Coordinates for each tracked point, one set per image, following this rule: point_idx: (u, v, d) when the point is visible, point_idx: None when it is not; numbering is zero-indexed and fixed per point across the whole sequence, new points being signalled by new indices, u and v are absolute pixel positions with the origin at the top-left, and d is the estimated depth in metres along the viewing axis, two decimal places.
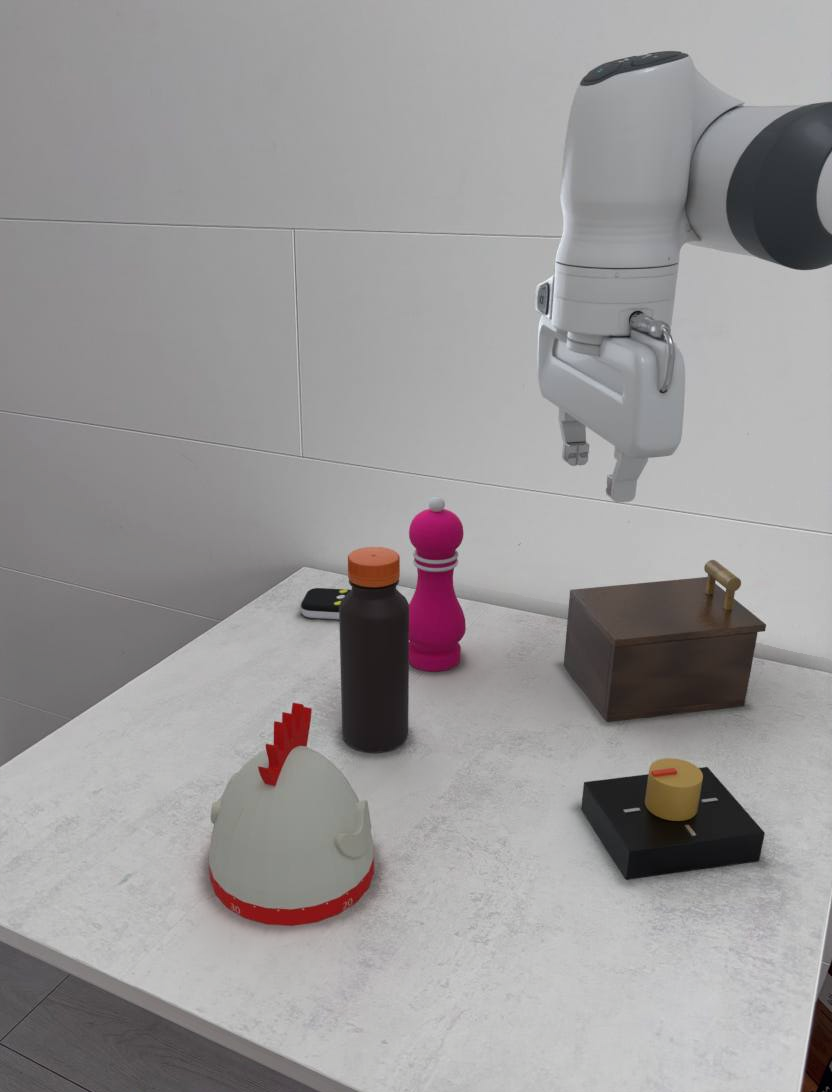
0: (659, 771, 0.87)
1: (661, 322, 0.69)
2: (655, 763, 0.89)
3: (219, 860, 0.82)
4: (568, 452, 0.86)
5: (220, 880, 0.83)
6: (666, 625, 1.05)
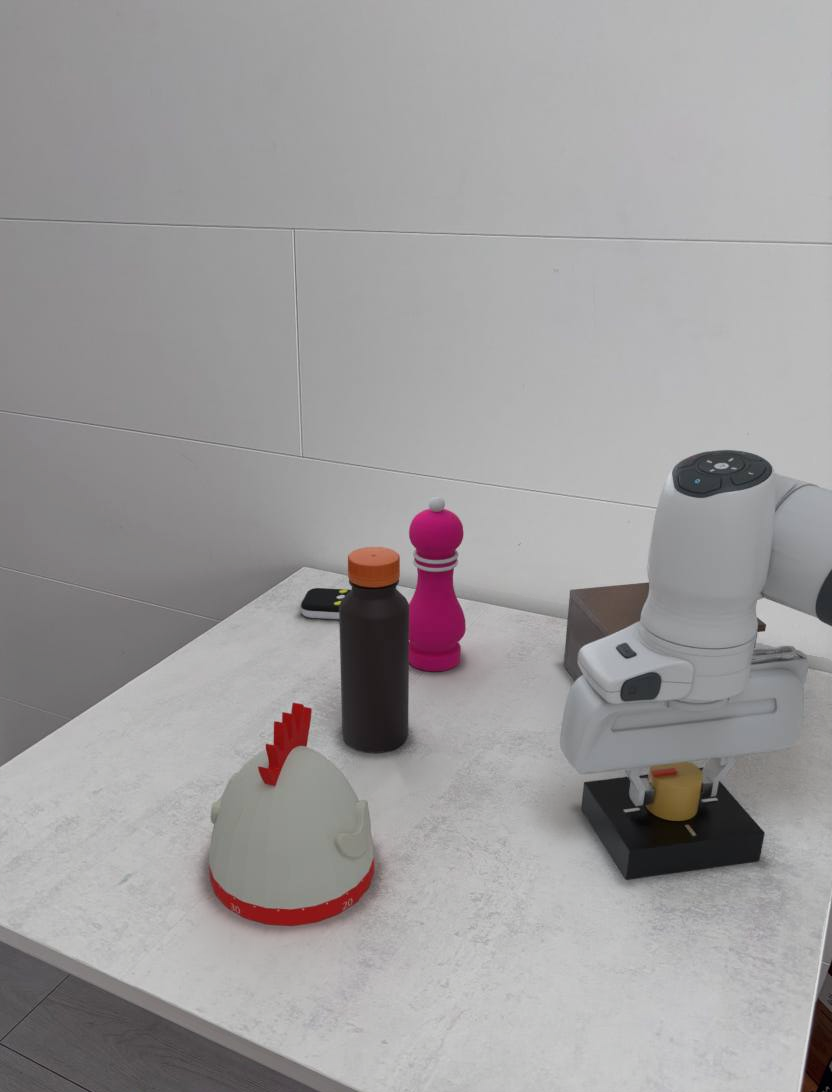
0: (659, 771, 0.87)
1: (789, 646, 0.83)
2: None
3: (219, 860, 0.82)
4: (653, 795, 0.87)
5: (220, 880, 0.83)
6: None
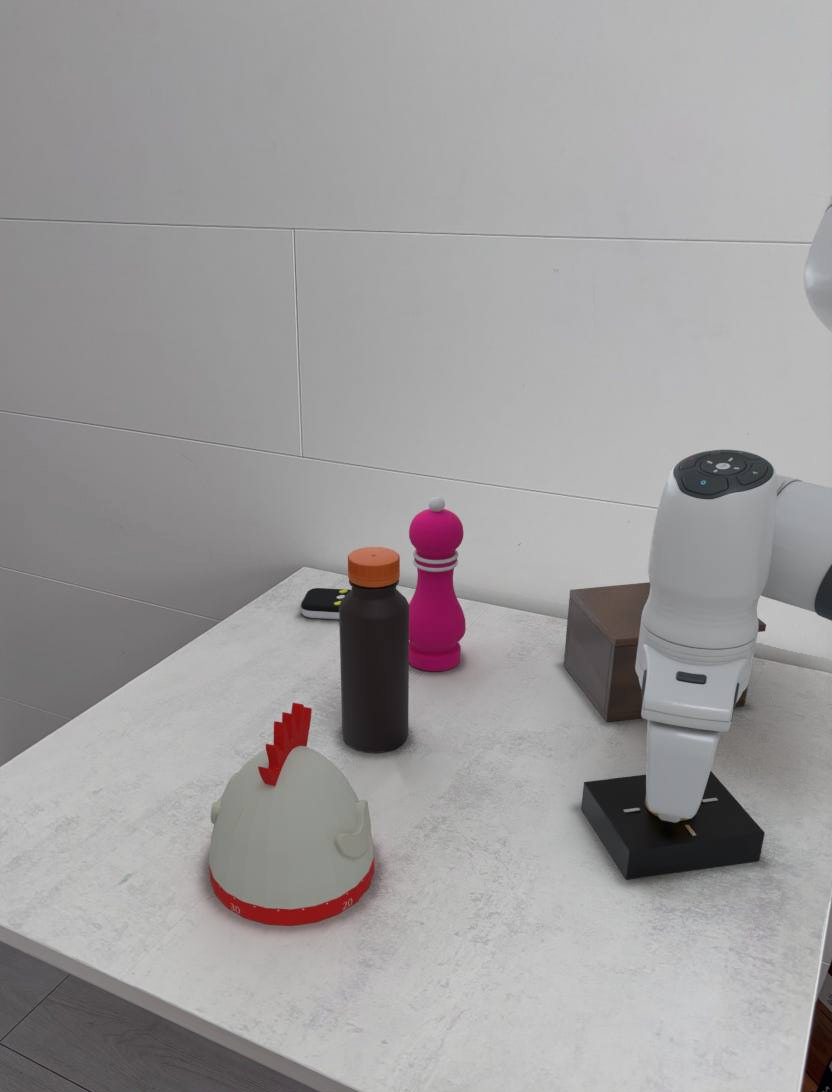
0: None
1: None
2: None
3: (219, 860, 0.82)
4: None
5: (220, 880, 0.83)
6: None
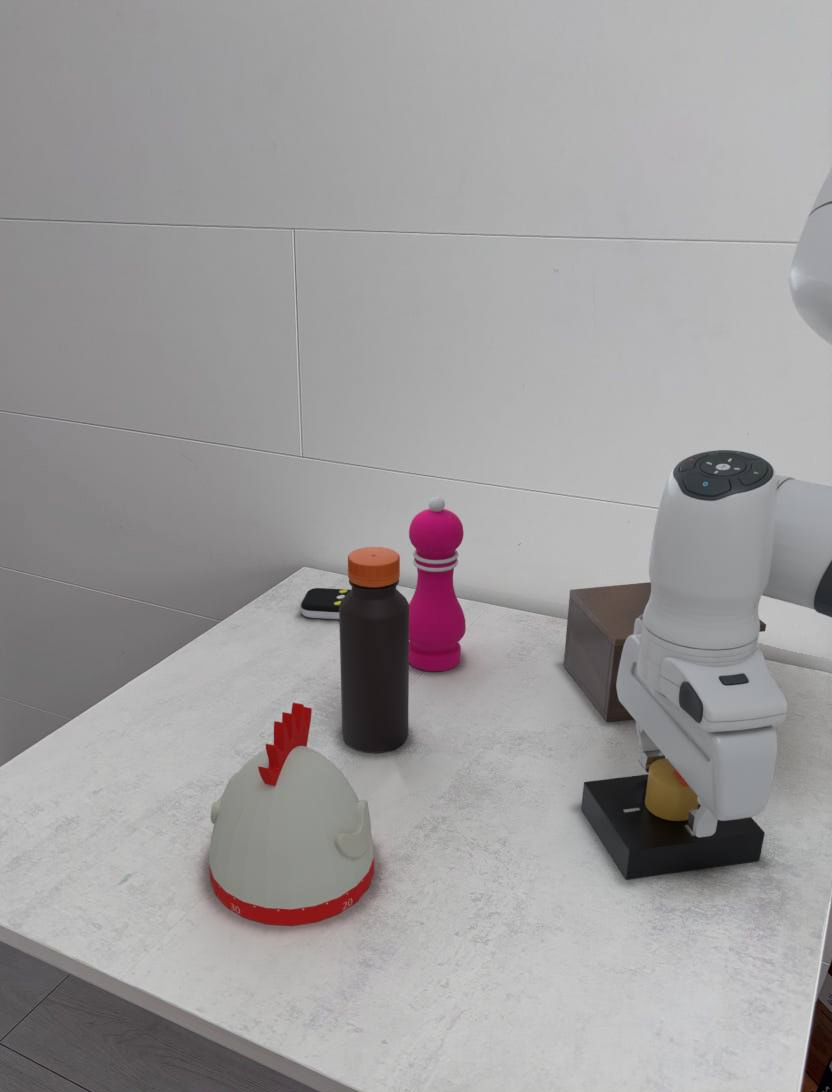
0: None
1: None
2: (665, 782, 0.86)
3: (219, 860, 0.82)
4: None
5: (220, 880, 0.83)
6: None
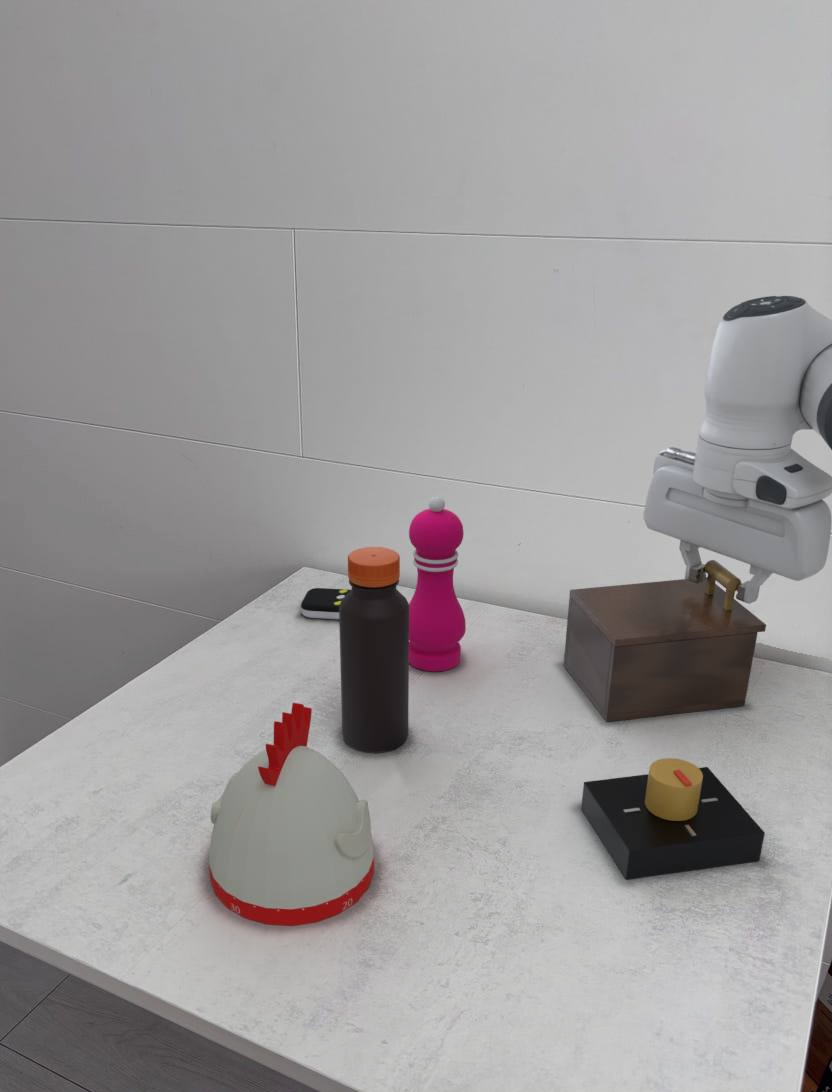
0: (685, 779, 0.86)
1: (673, 447, 1.10)
2: (665, 782, 0.86)
3: (219, 860, 0.82)
4: None
5: (220, 880, 0.83)
6: (666, 625, 1.05)
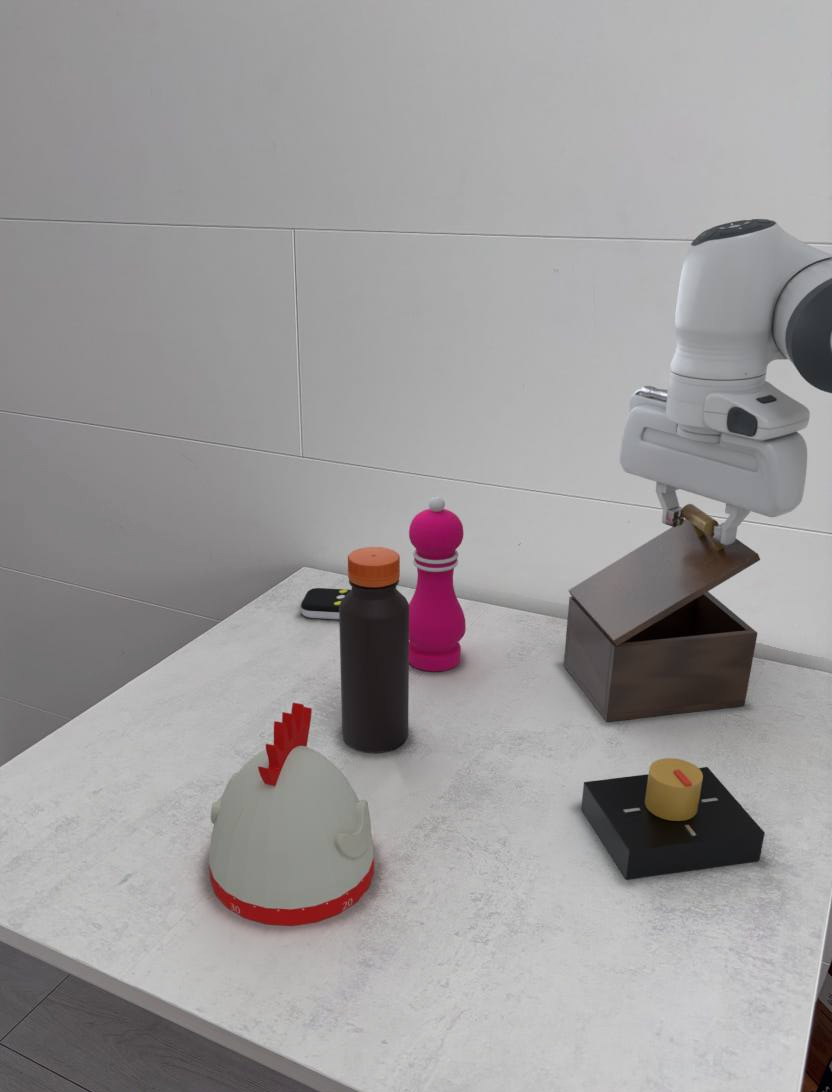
0: (685, 779, 0.86)
1: None
2: (665, 782, 0.86)
3: (219, 860, 0.82)
4: None
5: (220, 880, 0.83)
6: (661, 598, 1.04)
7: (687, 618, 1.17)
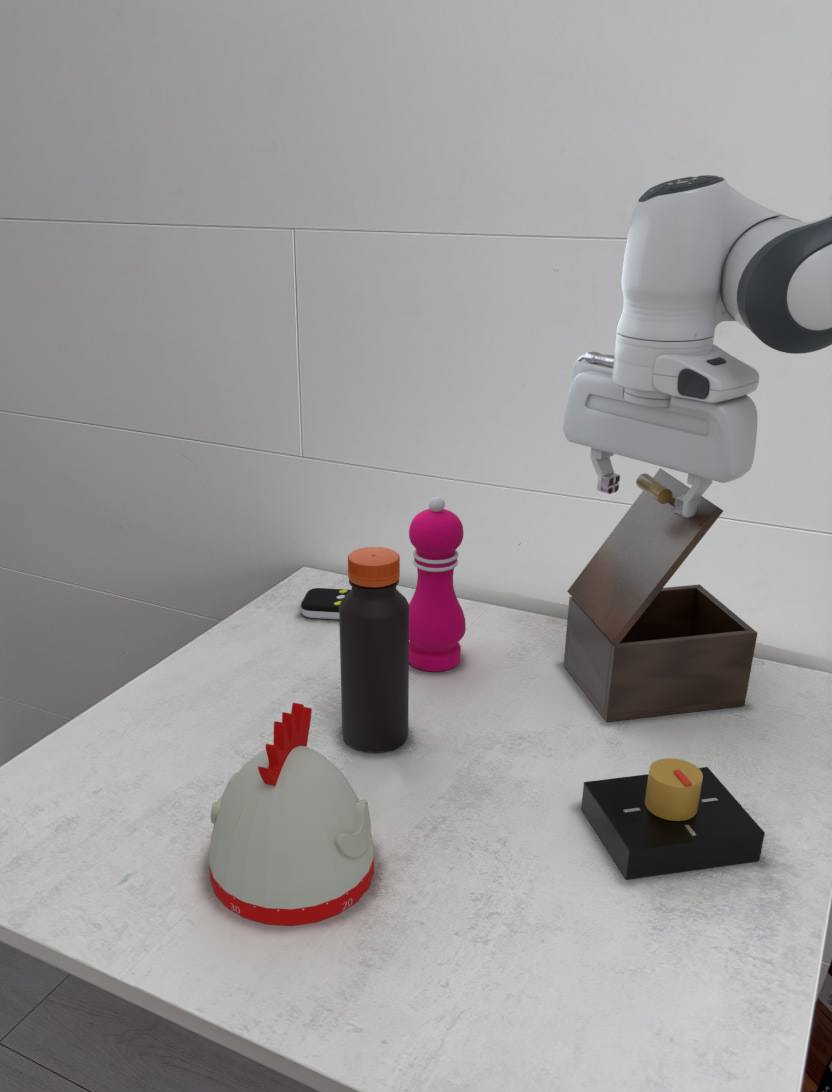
0: (685, 779, 0.86)
1: None
2: (665, 782, 0.86)
3: (219, 860, 0.82)
4: None
5: (220, 880, 0.83)
6: (644, 582, 1.03)
7: (687, 618, 1.17)
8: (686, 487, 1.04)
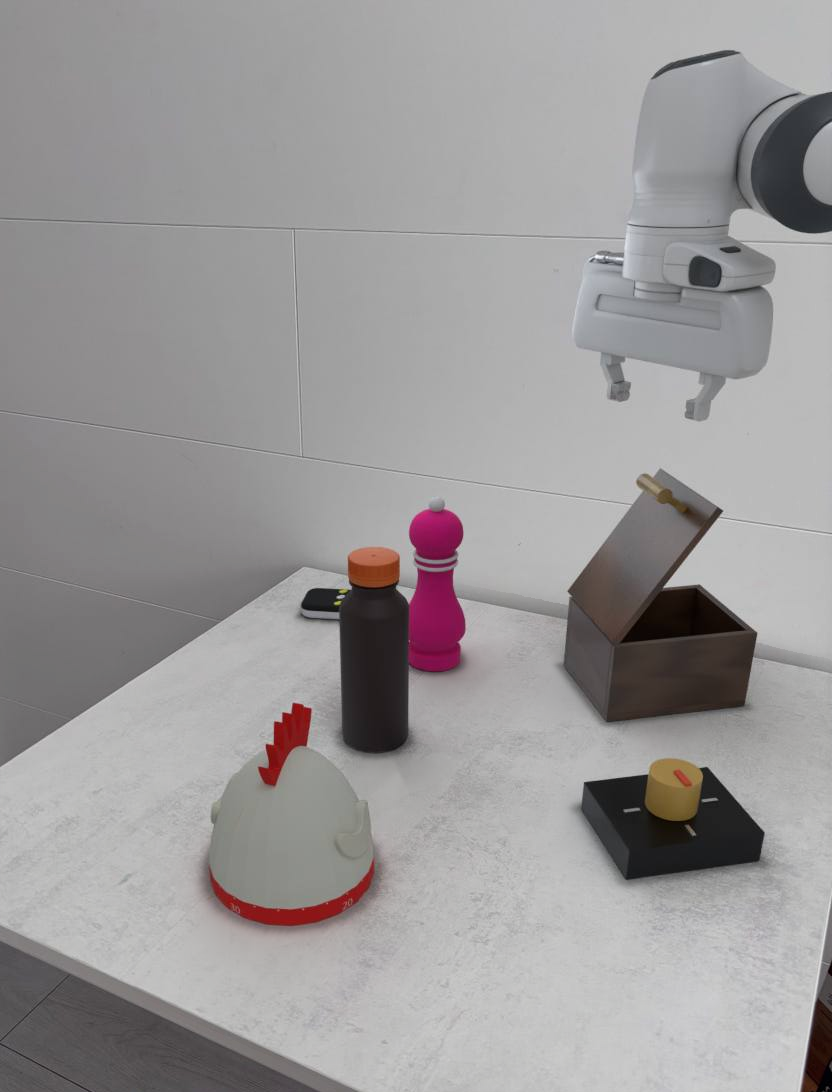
0: (685, 779, 0.86)
1: None
2: (665, 782, 0.86)
3: (219, 860, 0.82)
4: None
5: (220, 880, 0.83)
6: (644, 582, 1.03)
7: (687, 618, 1.17)
8: (686, 487, 1.04)
